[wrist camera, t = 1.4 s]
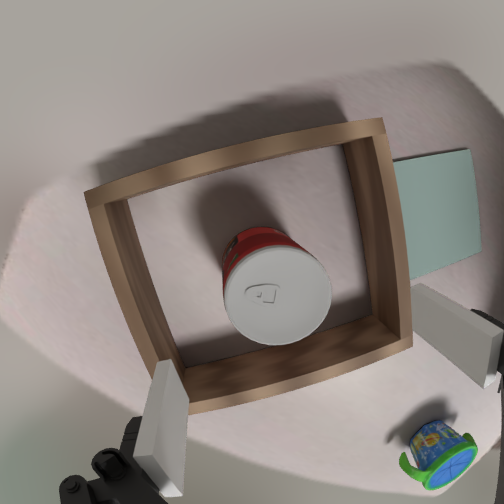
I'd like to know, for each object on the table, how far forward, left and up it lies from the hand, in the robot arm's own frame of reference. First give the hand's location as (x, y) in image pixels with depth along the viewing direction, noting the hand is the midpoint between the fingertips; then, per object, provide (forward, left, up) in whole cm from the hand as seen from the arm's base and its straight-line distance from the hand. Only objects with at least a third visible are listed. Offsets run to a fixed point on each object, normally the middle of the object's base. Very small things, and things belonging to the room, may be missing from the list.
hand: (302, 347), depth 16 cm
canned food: (0, 0, -18) cm, 18 cm away
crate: (0, 0, -18) cm, 18 cm away
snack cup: (-21, +39, -18) cm, 48 cm away
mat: (-23, 0, -18) cm, 29 cm away
